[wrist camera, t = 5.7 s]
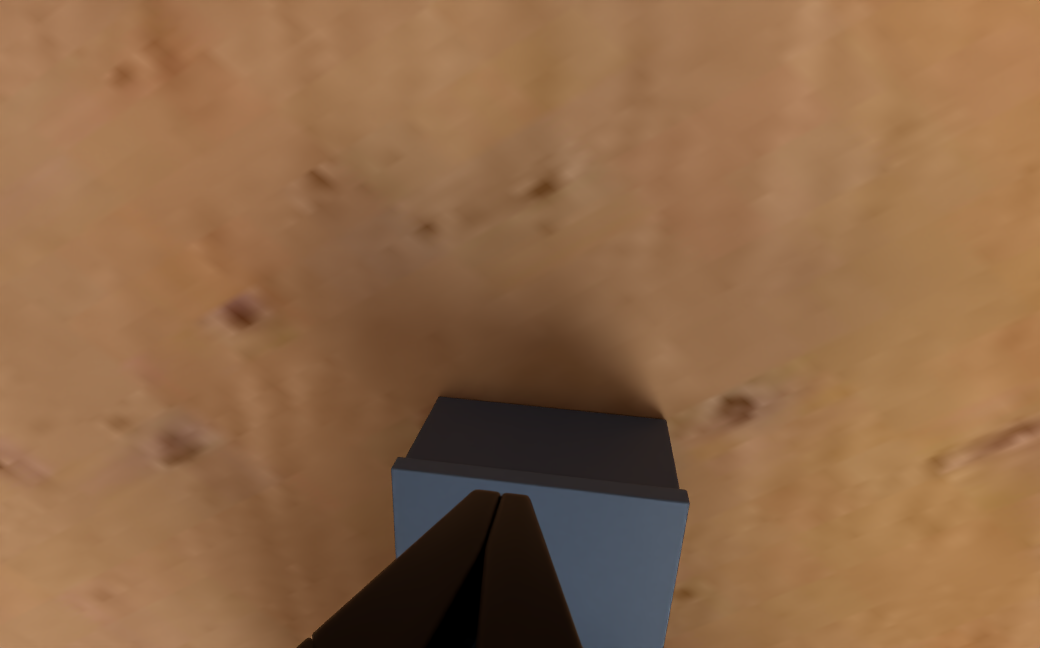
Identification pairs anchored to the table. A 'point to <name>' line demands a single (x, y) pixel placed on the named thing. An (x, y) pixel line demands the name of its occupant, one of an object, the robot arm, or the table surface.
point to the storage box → (563, 502)
